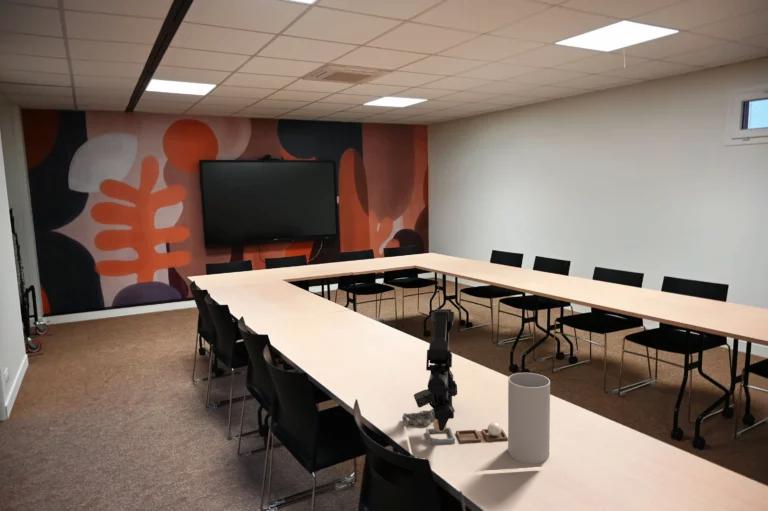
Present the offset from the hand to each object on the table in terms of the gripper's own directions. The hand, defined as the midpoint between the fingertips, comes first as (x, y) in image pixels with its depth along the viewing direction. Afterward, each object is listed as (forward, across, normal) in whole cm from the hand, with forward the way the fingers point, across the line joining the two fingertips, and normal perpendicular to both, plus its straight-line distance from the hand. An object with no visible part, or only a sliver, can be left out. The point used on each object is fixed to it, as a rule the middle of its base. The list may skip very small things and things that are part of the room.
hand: (440, 427), depth 170 cm
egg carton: (+5, -13, -6) cm, 15 cm away
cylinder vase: (+5, +13, +26) cm, 30 cm away
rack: (+5, +1, +14) cm, 15 cm away
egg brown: (+1, 0, 0) cm, 1 cm away
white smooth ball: (+4, +1, +18) cm, 19 cm away
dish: (+5, 0, 0) cm, 5 cm away
